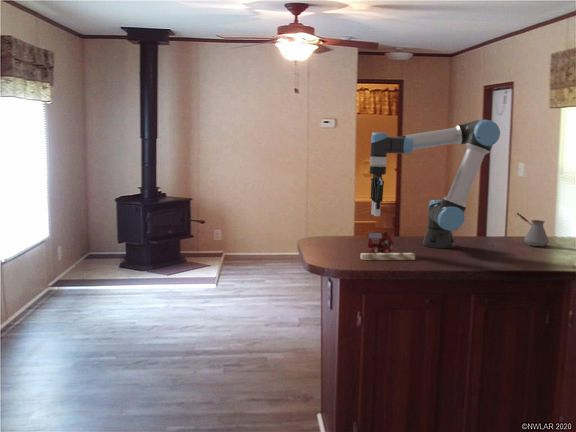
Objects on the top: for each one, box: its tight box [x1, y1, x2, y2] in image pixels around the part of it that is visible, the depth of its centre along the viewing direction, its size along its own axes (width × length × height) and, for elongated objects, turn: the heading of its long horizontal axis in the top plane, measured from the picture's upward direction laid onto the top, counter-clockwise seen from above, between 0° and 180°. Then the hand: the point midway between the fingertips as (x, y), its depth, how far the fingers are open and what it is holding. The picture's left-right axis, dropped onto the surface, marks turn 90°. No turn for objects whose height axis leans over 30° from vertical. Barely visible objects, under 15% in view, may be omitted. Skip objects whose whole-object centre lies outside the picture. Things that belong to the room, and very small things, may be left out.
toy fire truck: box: [366, 231, 394, 253], centre depth 274 cm, size 7×12×10 cm, turn 96°
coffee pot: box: [514, 212, 549, 247], centre depth 308 cm, size 21×12×15 cm, turn 21°
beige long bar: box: [359, 252, 416, 261], centre depth 263 cm, size 24×3×3 cm, turn 98°
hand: (375, 215), depth 282 cm, fingers open, 4 cm apart
